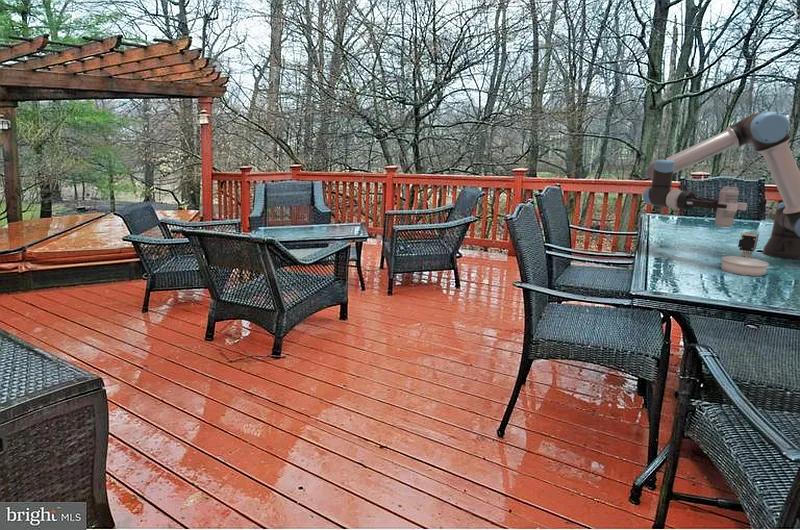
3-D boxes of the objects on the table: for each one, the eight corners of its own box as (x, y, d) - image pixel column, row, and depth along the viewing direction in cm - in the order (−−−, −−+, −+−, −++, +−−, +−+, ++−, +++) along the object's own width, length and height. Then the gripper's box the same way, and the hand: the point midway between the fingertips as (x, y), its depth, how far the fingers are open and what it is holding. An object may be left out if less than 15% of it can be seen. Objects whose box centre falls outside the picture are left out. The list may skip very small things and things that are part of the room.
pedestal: (752, 267, 197) (754, 257, 196) (776, 277, 183) (778, 266, 182) (712, 265, 199) (714, 255, 198) (732, 275, 184) (734, 264, 183)
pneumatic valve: (754, 258, 211) (760, 230, 208) (750, 263, 203) (756, 234, 200) (738, 256, 215) (744, 228, 212) (734, 261, 206) (739, 232, 203)
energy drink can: (727, 225, 197) (734, 186, 193) (735, 227, 191) (743, 188, 187) (711, 224, 197) (718, 186, 193) (718, 227, 191) (726, 187, 188)
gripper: (693, 207, 212) (752, 215, 193) (666, 210, 203) (725, 218, 184) (696, 190, 211) (756, 196, 191) (669, 191, 201) (729, 198, 182)
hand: (741, 207), depth 188 cm, fingers closed on energy drink can, 6 cm apart
